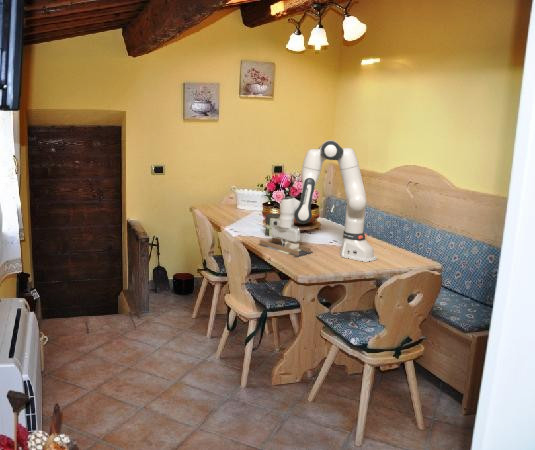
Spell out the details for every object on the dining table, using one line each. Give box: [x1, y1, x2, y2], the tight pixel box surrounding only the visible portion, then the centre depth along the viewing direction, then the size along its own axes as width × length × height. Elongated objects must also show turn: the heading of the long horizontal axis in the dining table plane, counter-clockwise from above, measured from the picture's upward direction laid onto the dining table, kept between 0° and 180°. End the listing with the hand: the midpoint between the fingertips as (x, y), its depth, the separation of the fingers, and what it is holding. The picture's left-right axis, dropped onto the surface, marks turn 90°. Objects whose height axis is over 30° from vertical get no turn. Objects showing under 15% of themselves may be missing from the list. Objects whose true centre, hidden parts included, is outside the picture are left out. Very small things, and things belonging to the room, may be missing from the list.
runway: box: [257, 236, 314, 258], centre depth 323 cm, size 30×16×4 cm, turn 47°
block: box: [285, 241, 300, 251], centre depth 319 cm, size 6×6×4 cm
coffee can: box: [264, 212, 280, 238], centre depth 353 cm, size 10×10×14 cm
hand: (284, 246), depth 323 cm, fingers closed
